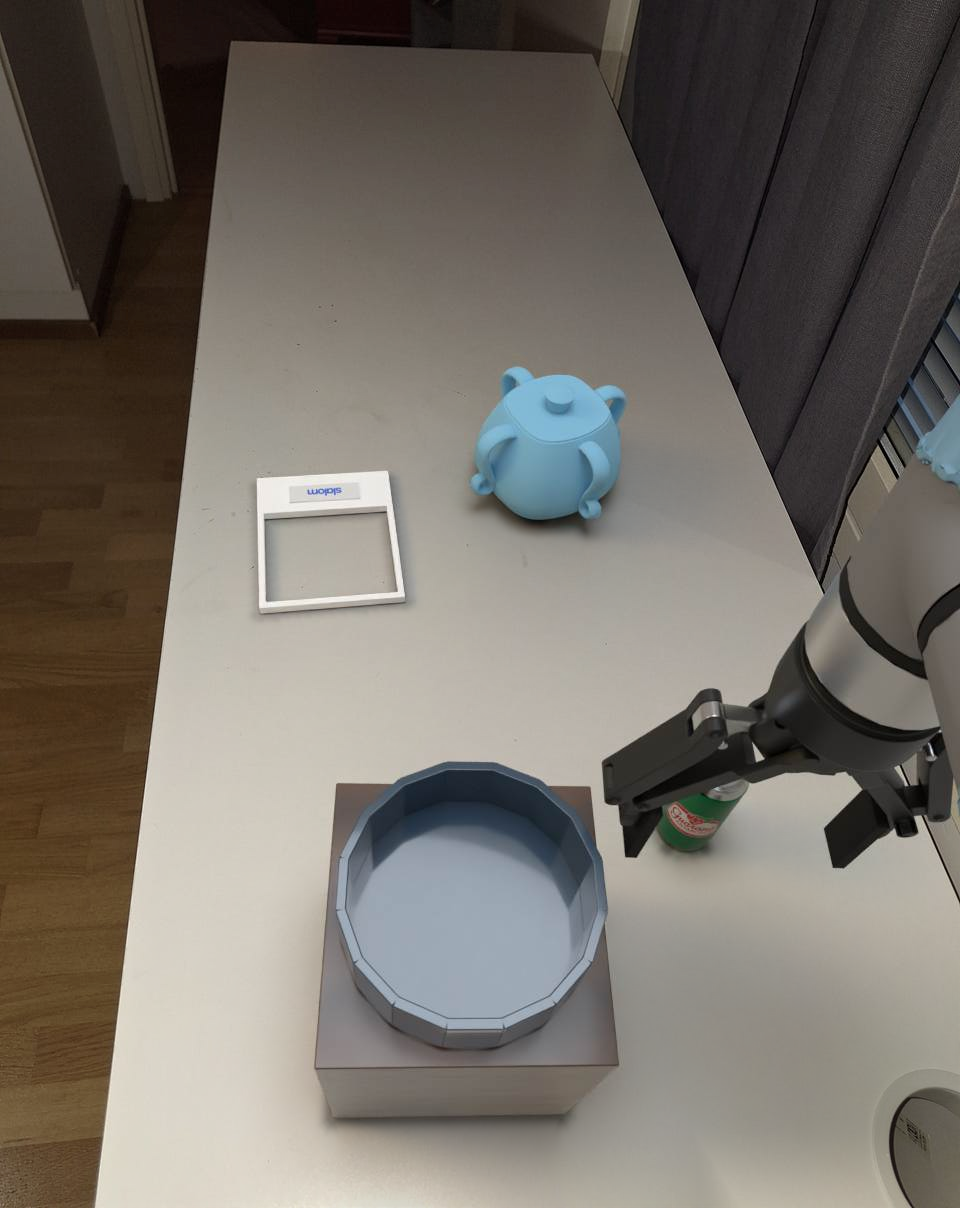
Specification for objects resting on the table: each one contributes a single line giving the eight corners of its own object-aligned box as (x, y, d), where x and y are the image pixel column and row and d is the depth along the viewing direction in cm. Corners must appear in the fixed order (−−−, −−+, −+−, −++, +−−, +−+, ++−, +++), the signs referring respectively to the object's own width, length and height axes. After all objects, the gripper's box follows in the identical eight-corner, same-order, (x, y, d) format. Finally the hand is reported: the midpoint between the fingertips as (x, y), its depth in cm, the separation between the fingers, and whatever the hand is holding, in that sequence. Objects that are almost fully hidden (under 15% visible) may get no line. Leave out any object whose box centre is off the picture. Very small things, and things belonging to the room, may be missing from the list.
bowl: (602, 1048, 51) (620, 1028, 47) (331, 1051, 50) (326, 1031, 46) (578, 798, 60) (592, 763, 56) (348, 795, 59) (345, 759, 55)
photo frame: (387, 469, 103) (404, 595, 92) (387, 476, 103) (404, 601, 93) (256, 477, 100) (258, 607, 90) (257, 484, 101) (260, 613, 91)
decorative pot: (589, 554, 99) (614, 466, 88) (453, 509, 101) (461, 418, 90) (626, 459, 109) (653, 368, 98) (500, 419, 111) (513, 327, 100)
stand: (564, 1114, 67) (619, 1065, 51) (333, 1117, 65) (313, 1069, 49) (549, 886, 77) (590, 785, 61) (348, 885, 75) (336, 782, 59)
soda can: (647, 838, 80) (682, 779, 70) (665, 791, 83) (701, 728, 73) (701, 863, 79) (744, 807, 69) (717, 815, 82) (761, 754, 72)
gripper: (1102, 616, 45) (901, 799, 62) (607, 580, 43) (540, 779, 60) (1170, 752, 40) (933, 909, 57) (619, 718, 38) (543, 891, 55)
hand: (731, 843), depth 58 cm, fingers open, 13 cm apart
